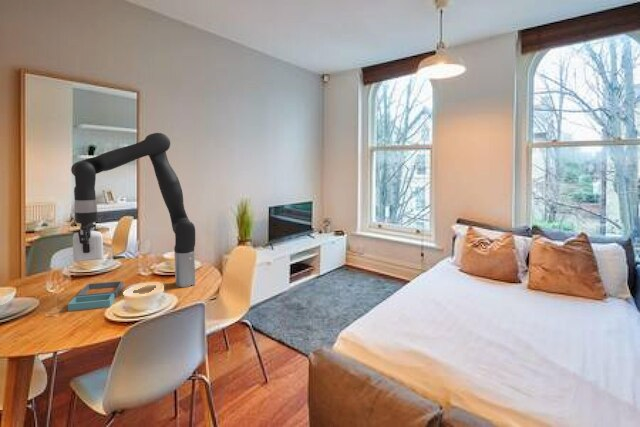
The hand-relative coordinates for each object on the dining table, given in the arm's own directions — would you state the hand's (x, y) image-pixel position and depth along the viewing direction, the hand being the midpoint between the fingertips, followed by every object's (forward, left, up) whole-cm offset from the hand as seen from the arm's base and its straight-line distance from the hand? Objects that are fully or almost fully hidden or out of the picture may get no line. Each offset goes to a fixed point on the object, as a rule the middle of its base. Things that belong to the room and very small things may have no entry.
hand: (88, 250), depth 137 cm
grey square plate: (0, -13, -23) cm, 27 cm away
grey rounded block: (0, 0, -4) cm, 4 cm away
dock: (0, +1, -23) cm, 23 cm away
